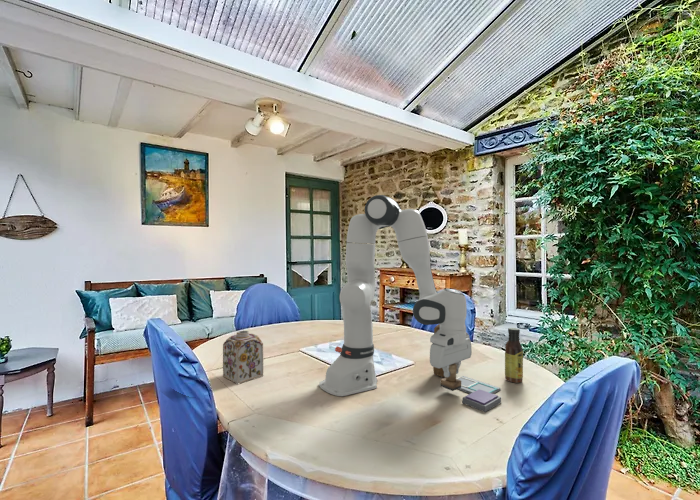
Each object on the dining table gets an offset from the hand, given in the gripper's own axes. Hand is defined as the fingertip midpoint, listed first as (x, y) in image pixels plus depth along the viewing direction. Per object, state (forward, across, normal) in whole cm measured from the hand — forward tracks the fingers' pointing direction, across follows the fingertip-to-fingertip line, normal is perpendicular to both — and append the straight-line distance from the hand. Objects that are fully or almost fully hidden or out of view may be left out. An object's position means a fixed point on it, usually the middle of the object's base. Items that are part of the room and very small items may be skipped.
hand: (451, 375), depth 121 cm
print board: (+6, -11, +2) cm, 13 cm away
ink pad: (+6, -2, +11) cm, 13 cm away
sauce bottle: (+6, -29, +9) cm, 31 cm away
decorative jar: (+9, +50, -62) cm, 80 cm away
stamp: (+4, 0, 0) cm, 4 cm away
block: (+7, -15, -12) cm, 20 cm away
